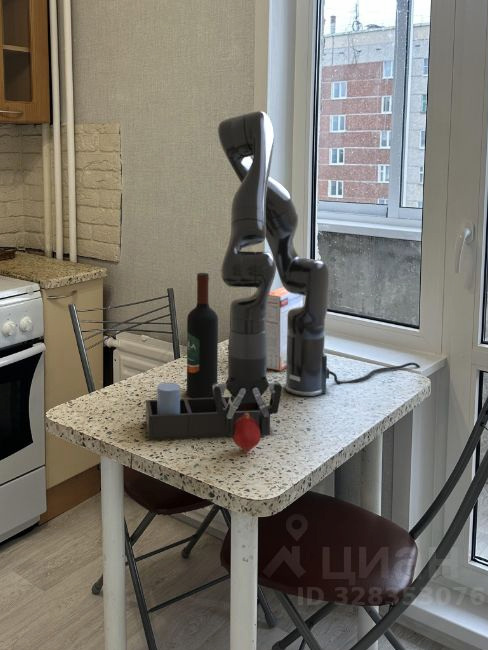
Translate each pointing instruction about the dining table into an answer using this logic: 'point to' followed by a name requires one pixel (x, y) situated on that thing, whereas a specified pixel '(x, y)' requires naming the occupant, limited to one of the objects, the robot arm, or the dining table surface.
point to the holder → (195, 419)
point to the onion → (246, 432)
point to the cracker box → (279, 326)
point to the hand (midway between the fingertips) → (246, 433)
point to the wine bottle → (202, 344)
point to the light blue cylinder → (168, 398)
